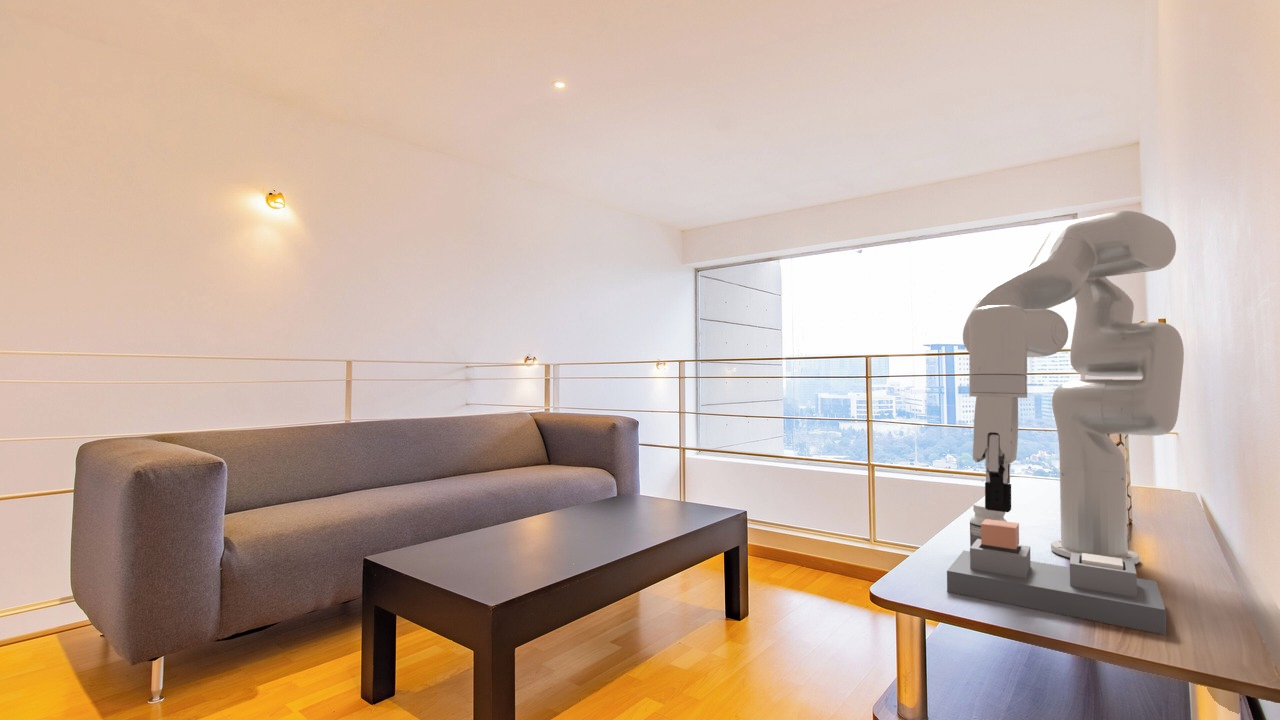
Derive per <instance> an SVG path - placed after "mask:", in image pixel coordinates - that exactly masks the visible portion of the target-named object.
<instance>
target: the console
mask: <svg viewBox="0 0 1280 720" xmlns="http://www.w3.org/2000/svg"><path fill="white" fill-rule="evenodd" d="M1122 562H1123V570H1120V569H1114V568H1107V567H1101V566H1094V565H1088V564H1082V554H1079V553H1072V552H1071V557H1070V558H1069V566H1064V565H1060V564H1059V565H1057V564H1050V563H1045V562H1038V561H1031V546H1029V545H1023V544H1019V545H1018V547H1017V549H1009V548H1003V547H996V546H990V545H983V544H981V539H977V540H976V541H975V542H974V544H973V545H972V546H971V547H969V550H962V552H961V553H960V554H959V555H958V556H957V558H956V559H955V560H954V561H953V563H952V564H951V565H950V567H948V569H947V570H946V592H947V593H948V592H949V593H954V594H959V595H963V596H967V597H972V598H973V597H974V598H978V599H981V600H982V599H983V600H989V601H992V602H993V601H994V602H999V603H1004V604H1008V605H1014V606H1019V607H1023V608H1028V609H1034V610H1037V611H1039V610H1040V611H1042V612H1043V611H1044V612H1048V613H1054V614H1058V615H1063V616H1068V617H1074V618H1078V619H1083V620H1090V621H1094V622H1099V623H1103V624H1104V623H1105V624H1109V625H1115V626H1120V627H1124V628H1129V629H1134V630H1139V631H1144V632H1149V633H1154V634H1160V635H1164V636H1166V635H1167V615H1166V612H1167V611H1166V607H1165V603H1164V601H1163V598H1162V594H1161V592H1160V590H1159V587H1158V582H1157V580H1153V579H1146V578H1141V577H1140V578H1139V577H1137V576H1138V575H1137V570H1136V566H1135V565H1136V564H1134V562H1133V561H1127V560H1122Z"/></svg>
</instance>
